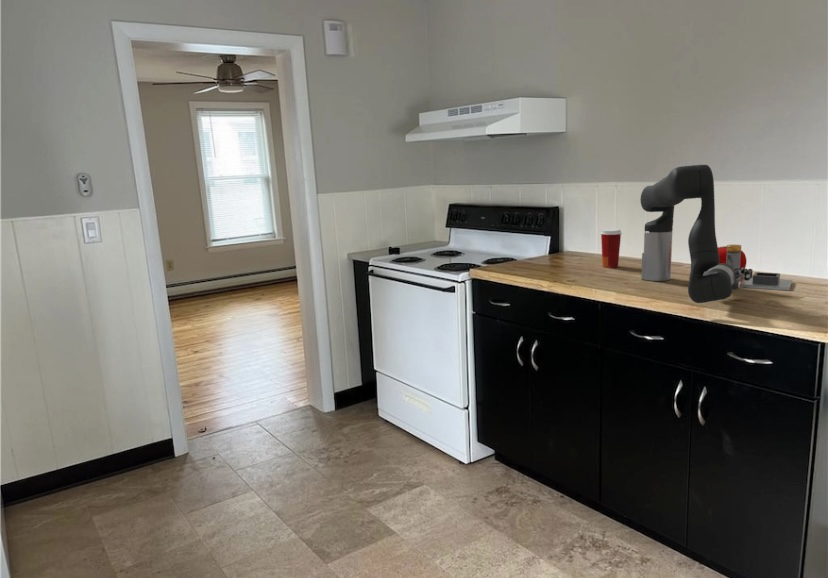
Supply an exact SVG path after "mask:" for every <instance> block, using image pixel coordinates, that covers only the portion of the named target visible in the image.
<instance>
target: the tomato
mask: <svg viewBox="0 0 828 578" xmlns="http://www.w3.org/2000/svg"><path fill="white" fill-rule="evenodd" d="M718 252H719V258H720V262H719V263H725V264H726V258H727V246H718ZM746 266H747V256H746V254H745V252H744V251H743V250H742V249H741V257H740V268H742V267H745V268H747V267H746ZM740 274H741V272H740Z"/></svg>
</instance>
